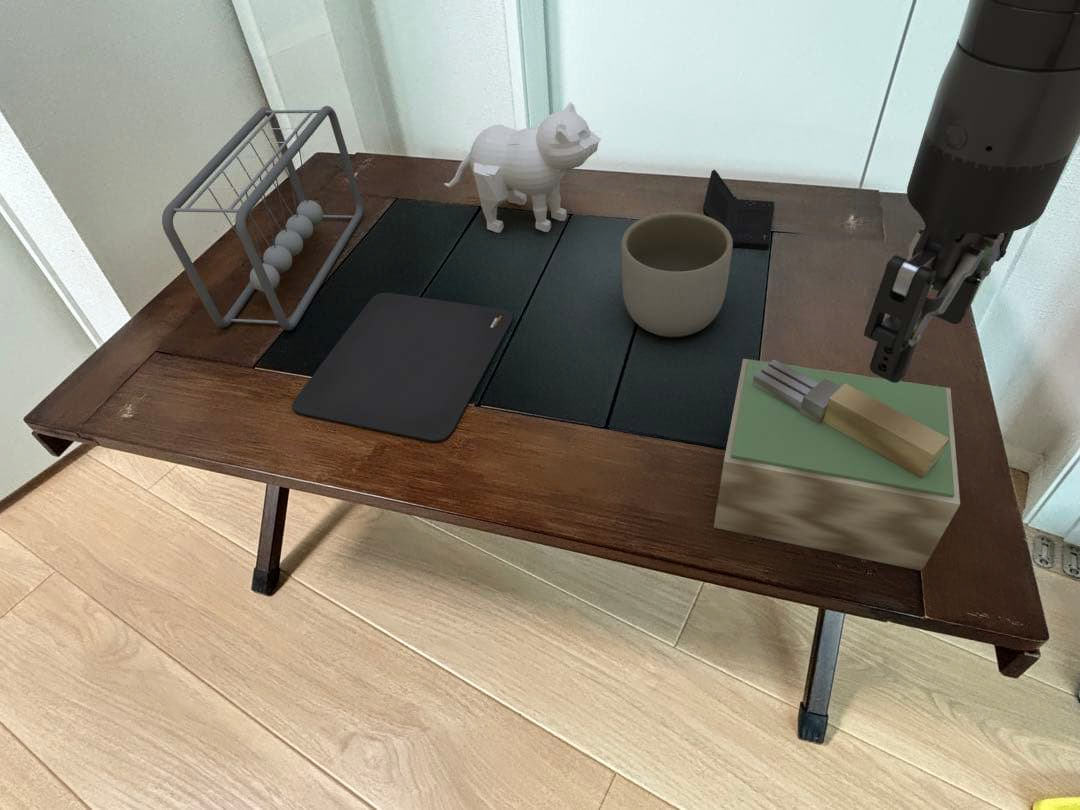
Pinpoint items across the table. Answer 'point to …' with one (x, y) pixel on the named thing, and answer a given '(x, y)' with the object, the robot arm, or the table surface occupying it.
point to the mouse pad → (406, 366)
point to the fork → (856, 417)
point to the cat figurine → (528, 164)
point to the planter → (675, 271)
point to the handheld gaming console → (739, 215)
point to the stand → (832, 507)
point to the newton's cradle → (296, 227)
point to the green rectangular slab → (820, 448)
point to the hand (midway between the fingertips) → (917, 345)
